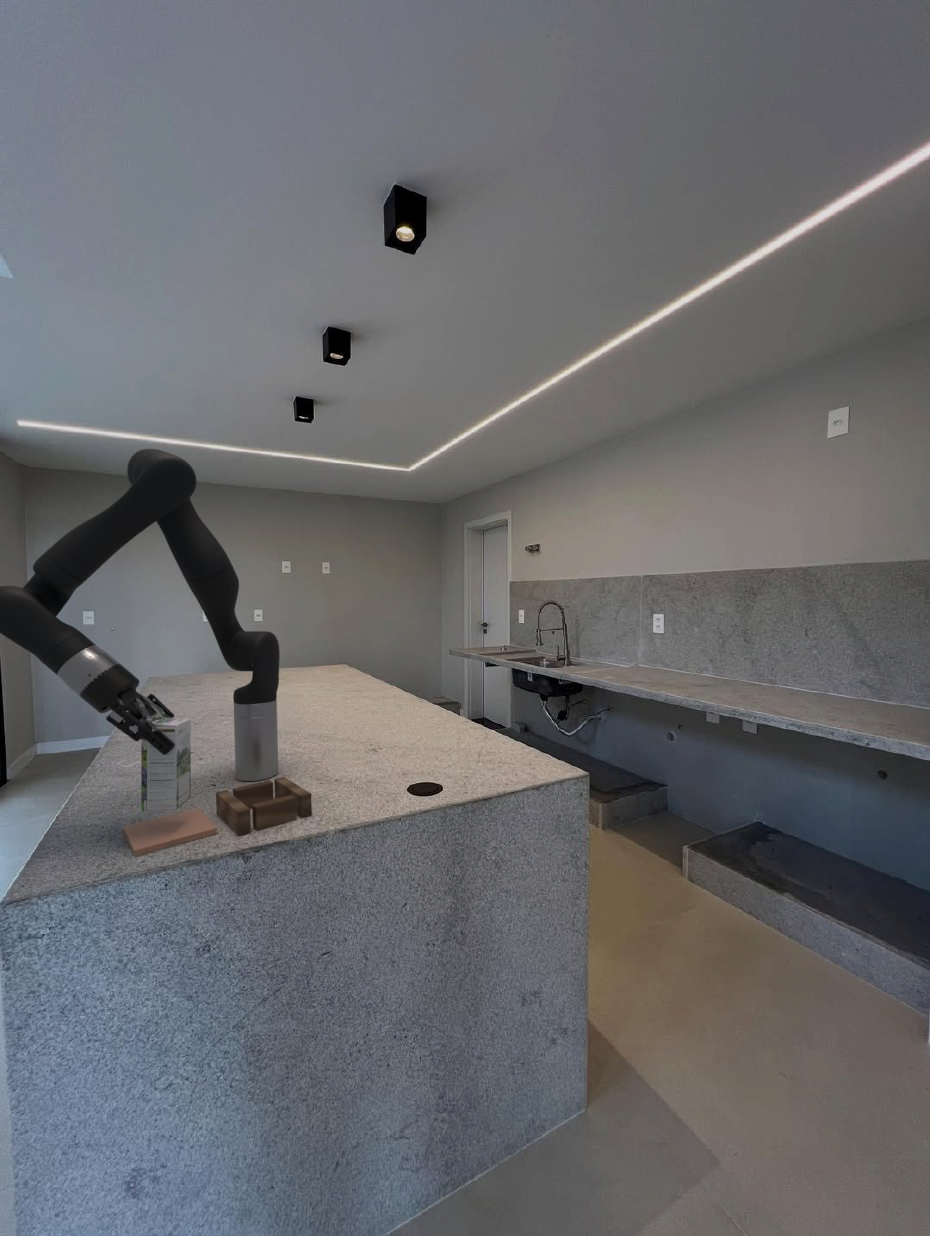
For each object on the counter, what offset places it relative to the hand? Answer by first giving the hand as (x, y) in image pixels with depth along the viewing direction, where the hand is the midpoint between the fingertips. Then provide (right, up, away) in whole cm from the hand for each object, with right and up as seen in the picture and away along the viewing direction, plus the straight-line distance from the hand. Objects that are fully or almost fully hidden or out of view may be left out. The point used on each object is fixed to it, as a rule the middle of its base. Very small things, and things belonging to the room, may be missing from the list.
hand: (177, 745), depth 89 cm
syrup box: (-2, -10, 0) cm, 11 cm away
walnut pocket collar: (+12, -15, +8) cm, 20 cm away
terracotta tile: (-1, -15, 0) cm, 15 cm away
